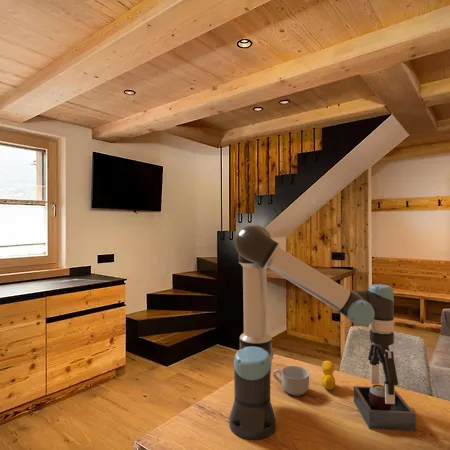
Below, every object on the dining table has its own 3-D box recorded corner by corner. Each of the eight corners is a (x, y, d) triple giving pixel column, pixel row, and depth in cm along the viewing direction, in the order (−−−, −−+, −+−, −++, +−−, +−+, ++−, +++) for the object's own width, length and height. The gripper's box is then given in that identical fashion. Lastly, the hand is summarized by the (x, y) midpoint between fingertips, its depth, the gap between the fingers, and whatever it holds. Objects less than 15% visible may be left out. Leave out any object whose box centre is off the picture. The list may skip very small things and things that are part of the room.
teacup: (313, 389, 132) (313, 369, 132) (303, 401, 123) (303, 380, 123) (280, 381, 140) (280, 361, 140) (269, 392, 131) (269, 371, 131)
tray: (369, 428, 107) (369, 411, 107) (353, 401, 124) (353, 386, 124) (415, 431, 105) (415, 413, 106) (393, 402, 122) (393, 387, 122)
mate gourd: (370, 403, 120) (369, 361, 120) (394, 409, 116) (394, 366, 116) (367, 414, 113) (367, 369, 113) (394, 420, 109) (393, 374, 109)
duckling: (320, 380, 141) (320, 356, 141) (333, 381, 139) (333, 357, 139) (322, 393, 130) (321, 367, 130) (336, 394, 128) (336, 368, 128)
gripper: (409, 343, 102) (410, 413, 102) (379, 320, 127) (379, 376, 127) (384, 343, 103) (384, 412, 103) (358, 320, 127) (359, 376, 127)
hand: (381, 392), depth 115 cm, fingers open, 13 cm apart
